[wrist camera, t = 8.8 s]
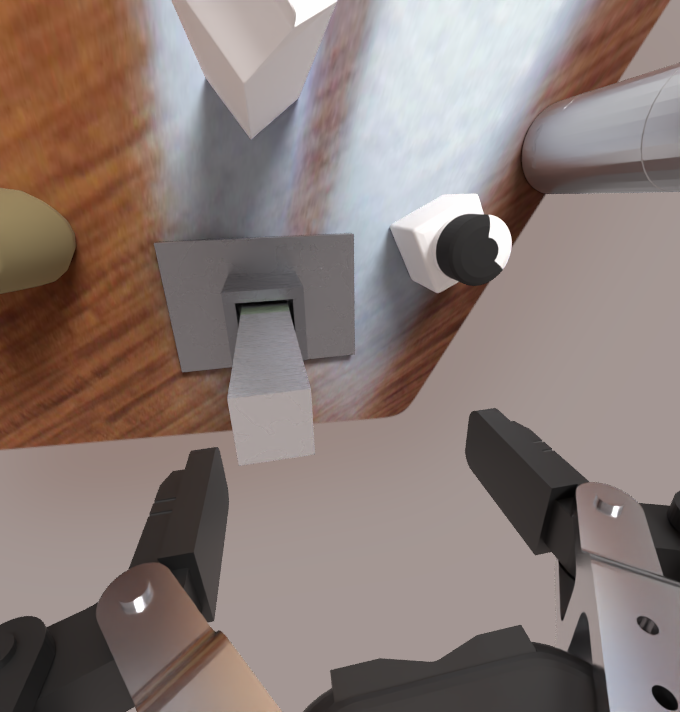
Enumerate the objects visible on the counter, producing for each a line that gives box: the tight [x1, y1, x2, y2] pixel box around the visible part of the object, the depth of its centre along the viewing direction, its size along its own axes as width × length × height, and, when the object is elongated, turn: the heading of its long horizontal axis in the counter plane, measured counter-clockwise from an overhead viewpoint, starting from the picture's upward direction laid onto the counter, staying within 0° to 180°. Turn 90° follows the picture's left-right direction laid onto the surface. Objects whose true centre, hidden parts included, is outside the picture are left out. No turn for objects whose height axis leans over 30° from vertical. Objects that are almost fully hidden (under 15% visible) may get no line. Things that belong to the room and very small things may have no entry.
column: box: [227, 300, 315, 466], centre depth 27 cm, size 4×4×18 cm
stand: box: [154, 233, 355, 372], centre depth 36 cm, size 20×14×10 cm
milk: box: [172, 0, 337, 139], centre depth 23 cm, size 6×6×22 cm
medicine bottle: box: [390, 194, 512, 293], centre depth 37 cm, size 7×7×12 cm
